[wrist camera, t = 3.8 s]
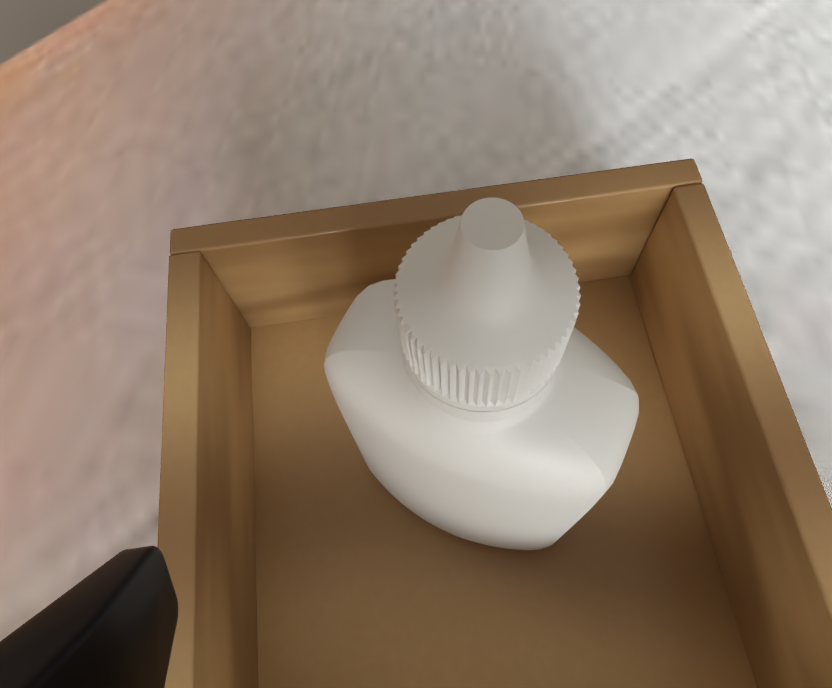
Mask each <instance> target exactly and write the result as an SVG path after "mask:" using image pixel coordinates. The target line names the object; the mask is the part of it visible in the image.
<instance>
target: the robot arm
mask: <svg viewBox="0 0 832 688" xmlns="http://www.w3.org/2000/svg"><path fill="white" fill-rule="evenodd" d="M177 620H178V600H177V596H176V593H175V589H174V586H173V583H172V580H171V577H170V574H169V571H168V568H167V565H166V562H165V559H164V556H163V554H162V552H161V551H160V549H159V548H157V547H155V546H148V547H141V548H133V549H126V550H123V551H121V552H120V553H118V554H117V555H116V556H114V557H113V558H112V559H110V560H109V561H108V562H106V563H105V564H104V565H102V566H101V567H100V568H98V569H97V570H96V571H94V572H93V573H92V574H90V575H89V576H88V577H86V578H85V579H83V580H82V581H81V582H79V583H78V584H77V585H75V586H74V587H73V588H71V589H70V590H69V591H67V592H66V593H65V594H63V595H62V596H61V597H59V598H58V599H57V600H55V601H54V602H53V603H51V604H50V605H49V606H47V607H46V608H45V609H43V610H42V611H41V612H39V613H38V614H37V615H35V616H34V617H33V618H31V619H30V620H29V621H27V622H26V623H25V624H23V625H22V626H21V627H19V628H18V629H16V630H15V631H14V632H12V633H11V634H10V635H8V636H7V637H6V638H4V639H3V640H2V641H0V688H164V687H165V681H166V676H167V671H168V666H169V661H170V656H171V651H172V646H173V641H174V635H175V630H176V625H177Z"/></svg>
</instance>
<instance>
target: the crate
mask: <svg viewBox="0 0 832 688" xmlns="http://www.w3.org/2000/svg"><path fill="white" fill-rule="evenodd" d="M491 197H493V198H501V199H504V200H507V201H509V202H511V203H513V204H514V205H515V206H516V207H517V208H518V209H519V210H520V211H521V213H522V215H523V218H524V220H527V221H529V222H530V223H533V224H536V225H537V227H539V228H542V229H544V231H545V232H546V233H548V234H551V237H552V238H554V239H555V240H557V243H558V244H559V245H561V246H562V247H563V250H564V251H565V252H566V253H567V254H569V255H568V258H569V259H570V260H571V261H572V262H573V264H572V266H573V267H574V268H575V269H576V273H575V274H576V275H577V277H578V278H579V280H578V284H579V286H580V290H579V293H580V295H581V297H580V300H579V302H580V307H579V309H578V312H579V314H578V316H577V319H576V323H575V325H574V328H576V329H577V330H578V331H580V332H581V333H582V334H583V335H585V336H586V337H587V338H589V339H590V340H591V341H592V342H593V343H594V344H595V345H597V346H598V347H599V348H600V349H601V350H602V351H603V352H604V353H605V354H606V355H607V356H608V357H609V358H610V359H611V360H612V361H613V362H615V363H616V364H617V366H618V367H619V368H620V369H621V370H622V371H623V373H624V374H625V375H626V376H627V377H628V378H629V380H630V381H631V383H632V384H633V386H634V388H635V390H636V392H637V394H638V397H639V415H638V418H637V422H636V425H635V429H634V432H633V435H632V438H631V440H630V443H629V446H628V449H627V452H626V454H625V457H624V460H623V462H622V464H621V467H620V469H619V471H618V473H617V476H616V478H615V480H614V482H613V484H612V485H611V486H610V487H609V489H608V490H607V491H606V492H605V493H604V495H603V496H602V497H601V498H600V499H599V500H598V501H597V502H596V504H595V505H594V506H593V507H592V508H591V509H590V510H589V511H588V512H587V513H586V514H585V515H584V516H583V517H582V518H581V519H580V520H579V521H577V522H576V523H575V524H574V525H573V526H572V527H571V528H570V529H569V530H568V531H567V532H566V533H565V534H564V535H562V536H561V537H560V538H559V539H558V540H557V541H556V542H555V543H554V544H552V545H551V546H549V547H546V548H543V549H541V550H514V549H505V548H498V547H493V546H488V545H484V544H480V543H476V542H472V541H469V540H466V539H463V538H460V537H458V536H455V535H453V534H450V533H448V532H446V531H444V530H442V529H440V528H438V527H436V526H434V525H432V524H430V523H429V522H427V521H425V520H424V519H422V518H421V517H419V516H418V515H416V514H415V513H413V512H412V511H411V510H409V509H408V508H407V507H405V506H404V505H403V504H402V503H401V502H399V501H398V500H397V499H396V498H395V497H394V496H393V495H392V494H391V493H390V492H389V491H388V490H387V489H386V488H385V487H384V486H383V485H382V484H381V483H380V482H379V481H378V480H377V479H376V477H375V476H374V475H373V473H372V472H371V471H370V469H369V468H368V466H367V464H366V462H365V460H364V458H363V456H362V454H361V452H360V450H359V448H358V446H357V444H356V442H355V440H354V438H353V436H352V434H351V432H350V430H349V428H348V426H347V424H346V422H345V420H344V418H343V416H342V413H341V411H340V409H339V407H338V405H337V403H336V401H335V398H334V396H333V393H332V391H331V389H330V386H329V384H328V380H327V377H326V374H325V370H324V361H325V356H326V351H327V348H328V345H329V343H330V341H331V339H332V337H333V335H334V333H335V331H336V329H337V327H338V326H339V324H340V322H341V320H342V319H343V317H344V315H345V314H346V312H347V310H348V309H349V307H350V306H351V304H352V303H353V301H354V300H355V298H356V297H357V295H358V294H360V293H361V292H362V291H363V290H364V289H365V288H366V287H368V286H369V285H372V284H375V283H378V282H380V281H383V280H391V279H396V275H395V274H396V273H397V272H398V271H399V270H398V266H399V265H400V264H401V263H402V258H403V257H404V256H405V255H406V251H407V250H409V249H410V248H411V244H413V243H414V242H416V241H417V238H418V237H420V236H422V235H424V232H426V231H428V230H430V229H431V227H433V226H436V225H438V223H440V222H444V221H446V220H447V219H451V218H454V217H455V216H461V215H463V213H464V211H465V210H466V208H467V207H468V206H469V205H471V204H472V203H474V202H475V201H477V200H480V199H483V198H491ZM158 548H159V549H160V551H161V552H162V554H163V556H164V559H165V562H166V565H167V568H168V571H169V574H170V577H171V580H172V583H173V586H174V589H175V593H176V596H177V600H178V620H177V625H176V630H175V635H174V641H173V646H172V651H171V656H170V661H169V666H168V671H167V676H166V681H165V687H164V688H832V508H831V506H830V503H829V501H828V498H827V496H826V493H825V491H824V488H823V485H822V483H821V480H820V478H819V475H818V473H817V470H816V468H815V465H814V463H813V460H812V458H811V455H810V452H809V450H808V447H807V445H806V442H805V440H804V437H803V435H802V432H801V430H800V427H799V425H798V422H797V420H796V417H795V414H794V412H793V409H792V407H791V404H790V402H789V399H788V397H787V394H786V392H785V389H784V387H783V384H782V381H781V379H780V376H779V374H778V371H777V369H776V366H775V364H774V361H773V359H772V356H771V354H770V351H769V349H768V346H767V343H766V341H765V338H764V336H763V333H762V331H761V328H760V326H759V323H758V321H757V318H756V316H755V313H754V310H753V308H752V305H751V303H750V300H749V298H748V295H747V293H746V290H745V288H744V285H743V283H742V280H741V278H740V275H739V272H738V270H737V267H736V265H735V262H734V260H733V257H732V255H731V252H730V250H729V247H728V245H727V242H726V239H725V237H724V234H723V232H722V229H721V227H720V224H719V222H718V219H717V217H716V214H715V212H714V209H713V207H712V204H711V201H710V199H709V196H708V194H707V191H706V189H705V186H704V185H703V184H702V178H701V176H700V173H699V171H698V168H697V166H696V163H695V161H694V159H685V160H677V161H670V162H663V163H655V164H648V165H641V166H633V167H626V168H619V169H611V170H604V171H597V172H589V173H582V174H575V175H567V176H560V177H553V178H546V179H538V180H531V181H524V182H516V183H509V184H502V185H494V186H487V187H480V188H472V189H465V190H458V191H450V192H443V193H436V194H428V195H421V196H414V197H406V198H399V199H392V200H385V201H377V202H370V203H363V204H355V205H348V206H341V207H333V208H326V209H319V210H311V211H304V212H297V213H289V214H282V215H275V216H267V217H260V218H253V219H245V220H238V221H231V222H223V223H216V224H209V225H202V226H194V227H187V228H180V229H173V230H171V240H170V256H169V275H168V300H167V325H166V350H165V375H164V400H163V425H162V450H161V475H160V500H159V525H158Z"/></svg>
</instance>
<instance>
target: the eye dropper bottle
mask: <svg viewBox="0 0 832 688" xmlns="http://www.w3.org/2000/svg"><path fill="white" fill-rule="evenodd" d="M568 255H569V254H567V253H566V252H565V251H564V250H563V247H562V246H561V245H559V244H558V243H557V240H555V239H554V238H552V237H551V234H548V233H546V232H545V231H544V229H542V228H539V227H537V225H536V224H533V223H530V222H529V221H527V220H524V218H523V215H522V213H521V211H520V210H519V209H518V208H517V207H516V206H515V205H514V204H513V203H511V202H509V201H507V200H504V199H501V198H493V197H491V198H483V199H480V200H477V201H475V202H474V203H472V204H471V205H469V206H468V207H467V208H466V210H465V211H464V213H463V215H461V216H455V217H454V218H451V219H447V220H446V221H444V222H440V223H438V225H436V226H433V227H431V229H430V230H428V231H426V232H424V235H422V236H420V237H418V238H417V241H416V242H414V243H413V244H411V248H410V249H409V250H407V251H406V255H405V256H404V257H403V258H402V263H401V264H400V265H399V266H398V270H399V271H398V272H397V273H396V274H395V275H396V279H391V280H383V281H380V282H378V283H375V284H372V285H369V286H368V287H366V288H365V289H364V290H363V291H362V292H361V293H360V294H358V295H357V297H356V298H355V300H354V301H353V303H352V304H351V306H350V307H349V309H348V310H347V312H346V314H345V315H344V317H343V319H342V320H341V322H340V324H339V326H338V327H337V329H336V331H335V333H334V335H333V337H332V339H331V341H330V343H329V345H328V348H327V351H326V356H325V361H324V370H325V374H326V377H327V380H328V384H329V386H330V389H331V391H332V393H333V396H334V398H335V401H336V403H337V405H338V407H339V409H340V411H341V413H342V416H343V418H344V420H345V422H346V424H347V426H348V428H349V430H350V432H351V434H352V436H353V438H354V440H355V442H356V444H357V446H358V448H359V450H360V452H361V454H362V456H363V458H364V460H365V462H366V464H367V466H368V468H369V469H370V471H371V472H372V473H373V475H374V476H375V477H376V479H377V480H378V481H379V482H380V483H381V484H382V485H383V486H384V487H385V488H386V489H387V490H388V491H389V492H390V493H391V494H392V495H393V496H394V497H395V498H396V499H397V500H398V501H399V502H401V503H402V504H403V505H404V506H405V507H407V508H408V509H409V510H411V511H412V512H413V513H415V514H416V515H418V516H419V517H421V518H422V519H424V520H425V521H427V522H429V523H430V524H432V525H434V526H436V527H438V528H440V529H442V530H444V531H446V532H448V533H450V534H453V535H455V536H458V537H460V538H463V539H466V540H469V541H472V542H476V543H480V544H484V545H488V546H493V547H498V548H505V549H514V550H541V549H543V548H546V547H549V546H551V545H552V544H554V543H555V542H556V541H557V540H558V539H559V538H560V537H561V536H562V535H564V534H565V533H566V532H567V531H568V530H569V529H570V528H571V527H572V526H573V525H574V524H575V523H576V522H577V521H579V520H580V519H581V518H582V517H583V516H584V515H585V514H586V513H587V512H588V511H589V510H590V509H591V508H592V507H593V506H594V505H595V504H596V502H597V501H598V500H599V499H600V498H601V497H602V496H603V495H604V493H605V492H606V491H607V490H608V489H609V487H610V486H611V485H612V484H613V482H614V480H615V478H616V476H617V473H618V471H619V469H620V467H621V464H622V462H623V460H624V457H625V454H626V452H627V449H628V446H629V443H630V440H631V438H632V435H633V432H634V429H635V425H636V422H637V418H638V415H639V397H638V394H637V392H636V390H635V388H634V386H633V384H632V383H631V381H630V380H629V378H628V377H627V376H626V375H625V374H624V373H623V371H622V370H621V369H620V368H619V367H618V366H617V364H616V363H615V362H613V361H612V360H611V359H610V358H609V357H608V356H607V355H606V354H605V353H604V352H603V351H602V350H601V349H600V348H599V347H598V346H597V345H595V344H594V343H593V342H592V341H591V340H590V339H589V338H587V337H586V336H585V335H583V334H582V333H581V332H580V331H578V330H577V329H576V328H574V325H575V323H576V319H577V316H578V314H579V312H578V309H579V307H580V302H579V300H580V297H581V295H580V293H579V290H580V286H579V284H578V280H579V278H578V277H577V275H576V274H575V273H576V269H575V268H574V267H573V266H572V264H573V262H572V261H571V260H570V259H569V258H568Z"/></svg>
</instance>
